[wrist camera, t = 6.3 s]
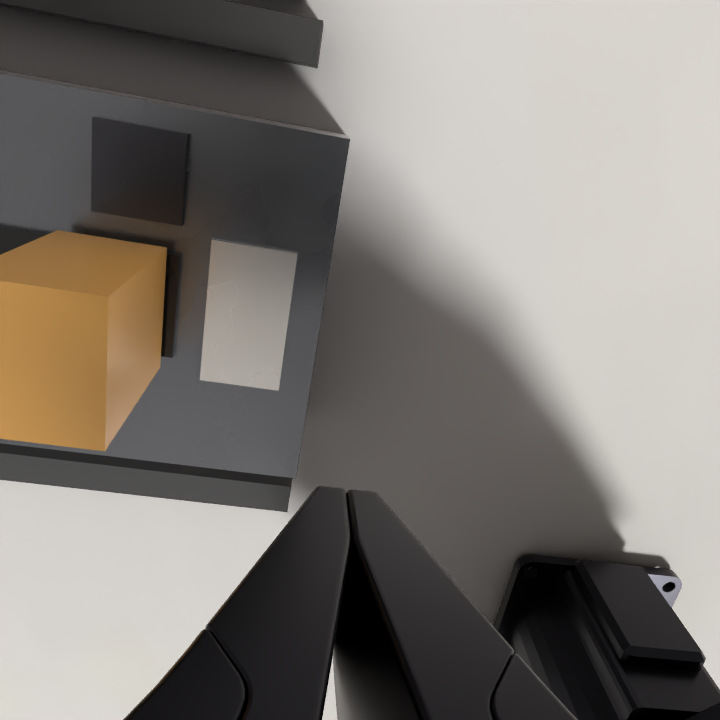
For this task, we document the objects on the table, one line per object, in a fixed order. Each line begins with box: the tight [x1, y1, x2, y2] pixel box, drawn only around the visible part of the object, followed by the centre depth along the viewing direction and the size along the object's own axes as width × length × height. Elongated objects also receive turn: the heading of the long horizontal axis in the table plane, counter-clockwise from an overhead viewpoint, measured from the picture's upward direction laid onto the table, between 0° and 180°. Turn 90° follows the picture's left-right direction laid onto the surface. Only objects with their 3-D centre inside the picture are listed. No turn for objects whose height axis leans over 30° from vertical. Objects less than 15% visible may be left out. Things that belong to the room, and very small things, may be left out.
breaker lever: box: [0, 230, 167, 451], centre depth 12 cm, size 3×2×4 cm
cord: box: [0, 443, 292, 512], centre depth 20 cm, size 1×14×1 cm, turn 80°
